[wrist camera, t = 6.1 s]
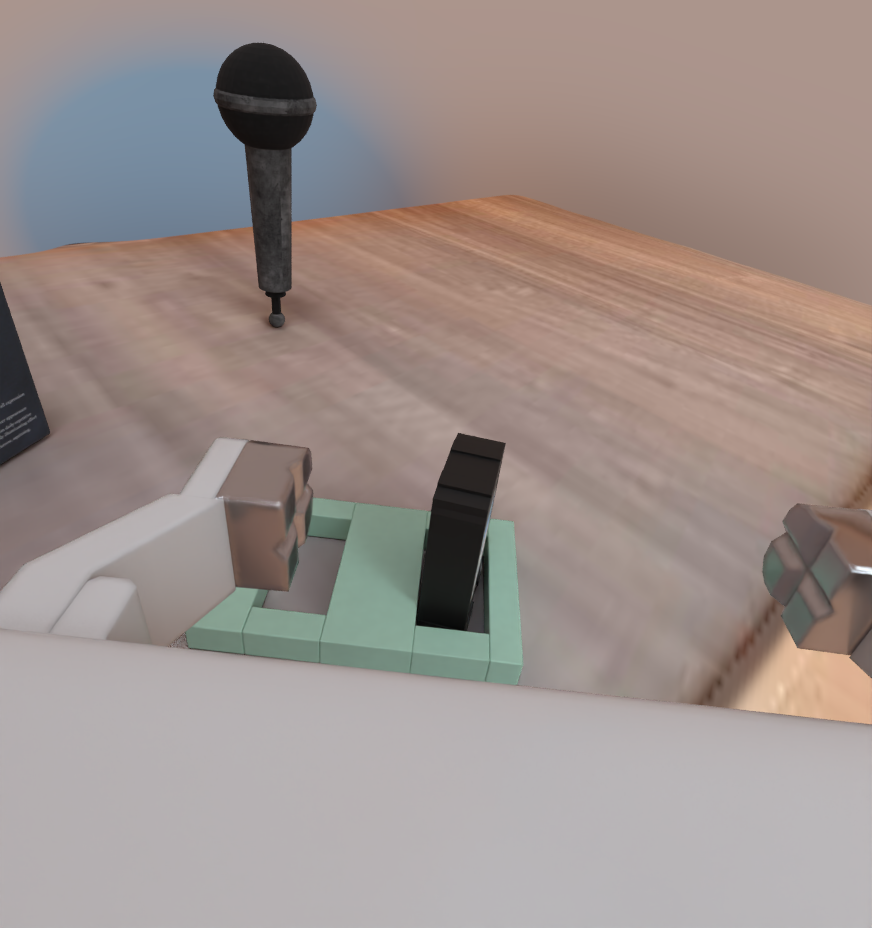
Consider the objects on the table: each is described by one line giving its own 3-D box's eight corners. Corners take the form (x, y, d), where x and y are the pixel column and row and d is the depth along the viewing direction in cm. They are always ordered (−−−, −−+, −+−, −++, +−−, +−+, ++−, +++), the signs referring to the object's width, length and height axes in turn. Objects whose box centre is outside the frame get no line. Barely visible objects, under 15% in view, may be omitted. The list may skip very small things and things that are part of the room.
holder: (187, 648, 26) (182, 625, 25) (252, 511, 33) (250, 489, 32) (516, 686, 26) (523, 664, 25) (509, 541, 33) (514, 520, 32)
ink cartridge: (463, 644, 27) (491, 507, 23) (415, 631, 28) (432, 494, 23) (482, 568, 31) (509, 439, 27) (439, 557, 32) (458, 427, 27)
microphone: (270, 352, 48) (253, 46, 37) (217, 323, 51) (185, 33, 40) (335, 329, 53) (337, 51, 41) (282, 304, 56) (271, 40, 44)
